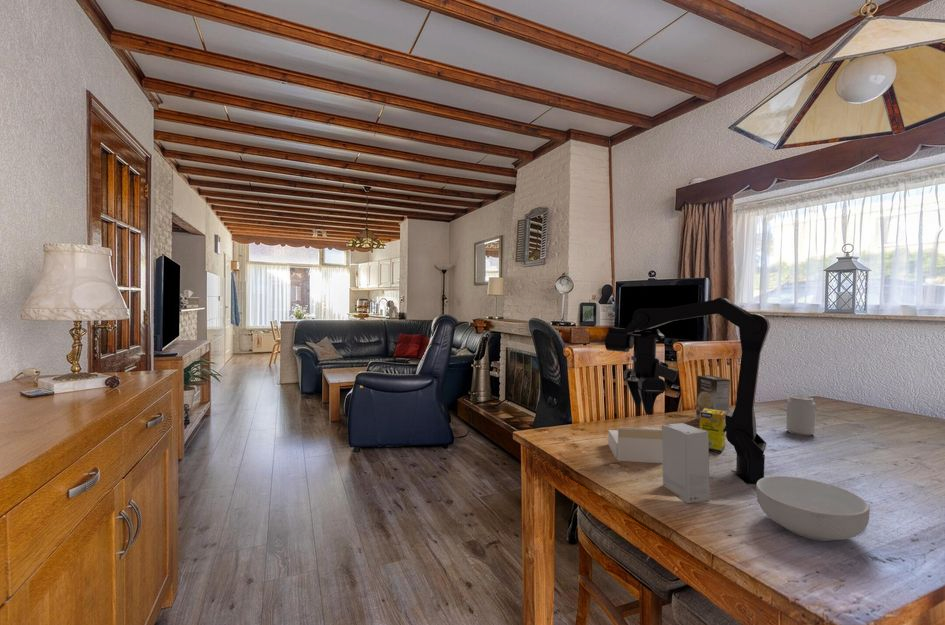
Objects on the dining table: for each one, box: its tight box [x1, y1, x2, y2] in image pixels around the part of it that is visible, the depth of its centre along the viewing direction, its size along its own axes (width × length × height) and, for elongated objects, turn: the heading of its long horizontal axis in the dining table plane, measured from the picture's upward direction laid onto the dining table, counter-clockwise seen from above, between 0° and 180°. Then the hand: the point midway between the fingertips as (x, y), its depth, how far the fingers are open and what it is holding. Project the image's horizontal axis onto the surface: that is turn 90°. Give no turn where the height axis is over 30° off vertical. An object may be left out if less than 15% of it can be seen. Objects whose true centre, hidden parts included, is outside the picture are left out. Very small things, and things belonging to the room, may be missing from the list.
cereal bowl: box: [755, 475, 870, 542], centre depth 82 cm, size 17×17×7 cm
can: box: [785, 394, 817, 437], centre depth 144 cm, size 8×8×12 cm
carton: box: [607, 429, 618, 460], centre depth 120 cm, size 12×12×5 cm
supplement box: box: [699, 408, 726, 454], centre depth 127 cm, size 6×6×11 cm
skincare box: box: [661, 422, 710, 504], centre depth 96 cm, size 8×6×15 cm
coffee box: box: [695, 374, 731, 424], centre depth 156 cm, size 9×6×16 cm
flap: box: [616, 426, 663, 464], centre depth 113 cm, size 1×12×9 cm, turn 83°
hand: (642, 410), depth 121 cm, fingers open, 9 cm apart
